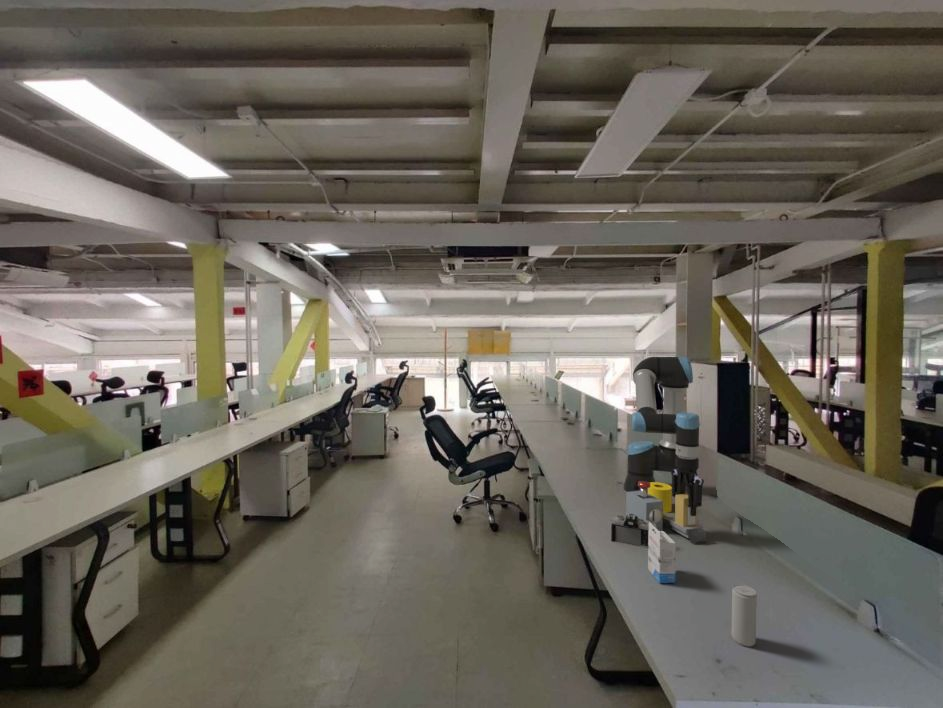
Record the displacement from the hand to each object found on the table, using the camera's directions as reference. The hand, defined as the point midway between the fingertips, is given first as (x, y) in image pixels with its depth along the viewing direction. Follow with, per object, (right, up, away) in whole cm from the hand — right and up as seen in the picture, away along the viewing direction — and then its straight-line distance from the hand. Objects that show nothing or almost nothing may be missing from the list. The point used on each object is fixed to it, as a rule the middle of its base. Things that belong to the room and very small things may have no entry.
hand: (686, 521), depth 156 cm
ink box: (-21, -6, -27) cm, 34 cm away
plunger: (-12, +4, +9) cm, 15 cm away
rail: (-1, -5, +5) cm, 7 cm away
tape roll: (+1, -5, +26) cm, 26 cm away
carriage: (0, -5, 0) cm, 5 cm away
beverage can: (-14, -7, -55) cm, 57 cm away
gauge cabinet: (-12, -5, +9) cm, 15 cm away
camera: (-20, -6, -4) cm, 22 cm away
